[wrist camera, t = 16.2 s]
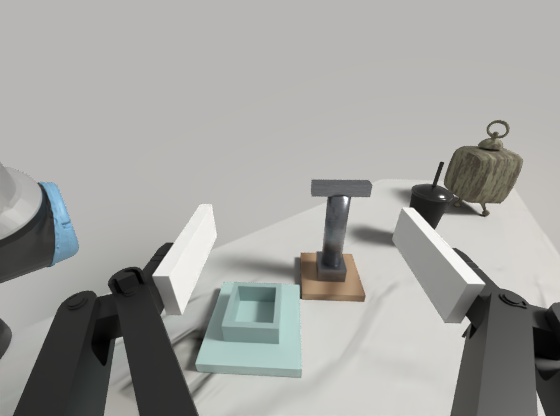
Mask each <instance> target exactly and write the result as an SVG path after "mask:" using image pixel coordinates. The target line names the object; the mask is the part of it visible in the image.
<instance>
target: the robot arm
mask: <svg viewBox="0 0 560 416" xmlns="http://www.w3.org/2000/svg"><path fill="white" fill-rule="evenodd" d="M216 237H217V235H216V229H215V222H214V216H213V210H212V205H211V204H201V205H200V206H199V207H198V209H197V210H196V212H195V213H194V215H193V216H192V218H191V219H190V221H189V222H188V223H187V225H186V226H185V228H184V230H183V231H182V233H181V234H180V235H179V237H178V238H177V240H176V241H175V243H165V244H164V245H163V246H161V247H160V248H159V249H158V250H157V252H156V253H155V254H154V256H153V257H152V258H151V260H150V262H148V264H147V265H146V266H145V268H144V269H143V270H141V269H140V268H138V267H129V268H125V269H122V270H120V271H119V272H117V273H115V274H114V275H113V276H112V277H111V278H110V280H109V281H108V286H109V288H110V290H111V292H112V294H109V295H105V296H100V297H97V295H96V294H95V293H94V292H93V291H82V292H79V293H76V294H74V295H72V296H71V297H69V298H67V299H66V300H65V301H64V302H63V303H62V304H61V305H60V307H59V308H58V310H57V313H56V315H55V317H54V320H53V322H52V324H51V327H50V329H49V332H48V334H47V336H46V339H45V341H44V343H43V346H42V348H41V351H40V353H39V355H38V358H37V360H36V362H35V365H34V367H33V369H32V372H31V374H30V377H29V379H28V381H27V384H26V386H25V388H24V391H23V393H22V396H21V398H20V400H19V403H18V405H17V407H16V410H15V412H14V415H13V416H104V410H105V403H106V397H107V391H108V384H109V378H110V372H111V365H112V359H113V352H114V346H115V340H116V338H119V337H123V339H124V344H125V349H126V353H127V358H128V363H129V368H130V372H131V377H132V382H133V387H134V391H135V396H136V401H137V405H138V410H139V415H140V416H199V414H198V412H197V409H196V407H195V404H194V401H193V399H192V396H191V394H190V391H189V388H188V386H187V383H186V381H185V378H184V375H183V373H182V370H181V368H180V365H179V362H178V360H177V357H176V355H175V352H174V349H173V347H172V344H171V342H170V339H169V336H168V334H167V331H166V329H165V326H164V323H163V321H162V318H161V316H160V315H161V313H162V311H163V309H164V308H165V311H166V314H167V315H182V314H183V312H184V309H185V307H186V305H187V303H188V300H189V298H190V296H191V293H192V291H193V289H194V287H195V284H196V282H197V280H198V278H199V275H200V273H201V271H202V269H203V266H204V264H205V262H206V259H207V257H208V255H209V253H210V250H211V248H212V246H213V244H214V241H215V239H216ZM392 241H393V242H394V244H395V245H396V247H397V248H398V250H399V252H400V253H401V255H402V256H403V258H404V259H405V261H406V263H407V264H408V266H409V267H410V269H411V271H412V272H413V274H414V275H415V277H416V278H417V280H418V282H419V283H420V285H421V286H422V288H423V289H424V291H425V293H426V294H427V296H428V297H429V299H430V300H431V302H432V304H433V305H434V307H435V308H436V310H437V311H438V313H439V315H440V316H441V318H442V319H443V321H444V322H445V323H461V322H462V320H463V319H464V317H465V316H467V318H468V319H469V320H470V322H471V323H470V325H469V326H468V328H467V329H466V331H465V332H464V334H463V335H462V337H464V338H465V336H466V340H465V345H464V350H463V355H462V360H461V365H460V370H459V375H458V380H457V385H456V390H455V395H454V400H453V405H452V410H451V415H450V416H538V412H537V395H536V390H537V393H538V396H539V398H540V401H541V404H542V407H543V409H544V412H545V415H546V416H560V302H558V303H553V304H552V305H551V307H550V308H549V309H545V308H541V307H537V306H533V305H529V303H528V302H527V301H526V300H525V299H523V298H522V297H521V296H519V295H518V294H516V293H514V292H512V291H509V290H506V289H500V288H499V287H498V286H497V285H496V284H495V283H494V282H493V281H492V280H491V279H490V278H489V277H488V276H487V275H486V274H485V273H484V272H483V271H482V270H481V269H479V268H478V266H477V265H476V264H475V263H473V261H472V260H471V259H470V258H469V257H468V256H467V255H466V254H464V253H463V252H461V251H460V250H458V249H457V248H451V247H450V246H449V245H448V244H447V243H446V242H445V241H444V240H443V239H442V238H441V237H440V235H439V234H438V233H437V232H436V231H435V230H434V229H433V228H432V227H431V226H430V225H429V224H428V223H427V222H426V221H425V220H424V219H423V218H422V216H421V215H420V214H419V213H418V212H417V211H416V210H415V209H414V208H402V209H401V212H400V215H399V219H398V222H397V225H396V228H395V232H394V235H393V238H392ZM78 249H79V244H78V240H77V237H76V234H75V231H74V229H73V226H72V224H71V220H70V218H69V214H68V212H67V209H66V206H65V204H64V201H63V198H62V196H61V193H60V191H59V189H58V186H57V185H56V184H55V183H52V182H47V183H45V182H38V183H37V182H36V181H35V180H33V178H32V177H30V176H29V175H27V174H25V173H23V172H21V171H19V170H16V169H13V168H9V167H4V166H3V165H2V164H1V163H0V283H3V282H5V281H8V280H11V279H14V278H17V277H19V276H22V275H25V274H28V273H30V272H33V271H36V270H39V269H42V268H44V267H51V266H53V265H55V263H58V262H60V261H63V260H65V259H67V258H70V257H72V256H74V255H75V254H76V253H77V251H78ZM11 337H12V332H11V329H10V328H9V327H8V326H7V324H5V322H4V321H3V320H1V319H0V359H1V357H2V356H3V355H4V353H5V352H6V350H7V348H8V346H9V344H10V341H11Z"/></svg>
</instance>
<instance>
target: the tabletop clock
mask: <svg viewBox="0 0 560 416" xmlns="http://www.w3.org/2000/svg"><path fill="white" fill-rule="evenodd" d="M494 123H501V124H504V125H505V126H506V130H507V131H506V133H505V134H504V135H502V136H498V134H499V133H498V132H494V133H493V134H492V133H490V131H489V127H490V126H491V125H492V124H494ZM508 132H509V125H508V124H507V123H506V122H504V121H501V120H497V121H493V122H491V123H490V124H489V125H488V127H487V133H488V135H489V136H491V138H488V139H485V140H483V141H481V142H480V143H479V144H478V146H463V147H461V148H459V149H457V150H456V151H455V152H454V154H453V156H452V158H451V161H450V163H449V166H448V169H447V172H446V175H445V179H444V185H445V187H446V188H447V189H448V190H449V191H450V192H452V193H453V194H454V195H456V196H458V197H459V198H460V199H459V201H458V202H455V203H454V206H456V207H459V206H460V205H461V203H460V202H461V201H462V200H464V201H466V202H470V203H480V204H481V206H482V208H483V210H484V211H483V212H482V214H483V215H484V216H488V215H489V214H490V212H489V211H487V210H486V207H485V203H501V202H502V201H504V200H505V198H506V197H507V196H508V194H509V193H510V191H511V189H512V188H513V186H514V184H515V182H516V180H517V178H518V175H519V173H520V171H521V168H522V163H523V159H522V158H521V157H520V156H519V155H518V154H516V153H514V152H511V151H510V150H507V149H504V148H503V143H502V142H501V141H500V140H498V139H496V138H503V137H505V136H506V135H507V134H508Z"/></svg>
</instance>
